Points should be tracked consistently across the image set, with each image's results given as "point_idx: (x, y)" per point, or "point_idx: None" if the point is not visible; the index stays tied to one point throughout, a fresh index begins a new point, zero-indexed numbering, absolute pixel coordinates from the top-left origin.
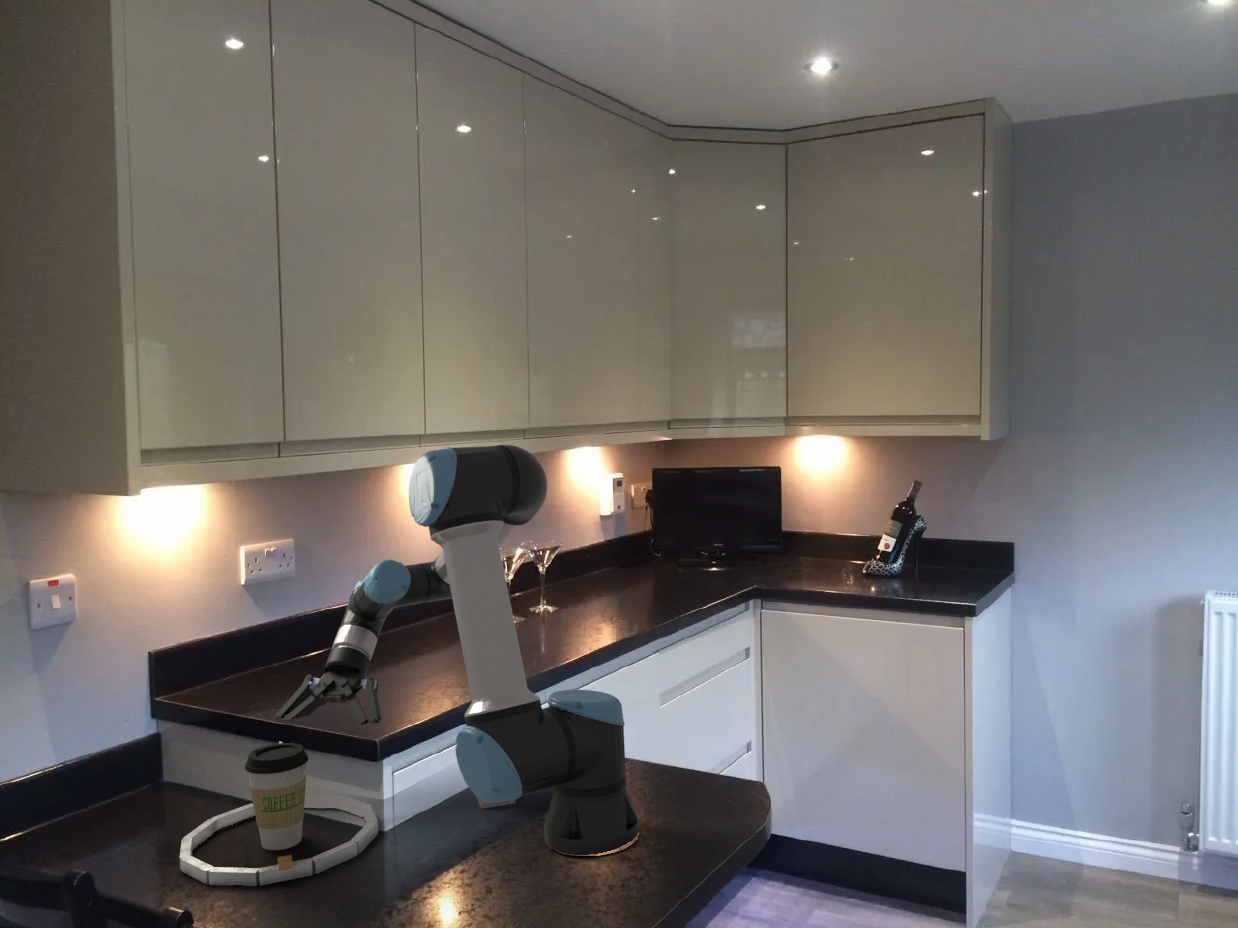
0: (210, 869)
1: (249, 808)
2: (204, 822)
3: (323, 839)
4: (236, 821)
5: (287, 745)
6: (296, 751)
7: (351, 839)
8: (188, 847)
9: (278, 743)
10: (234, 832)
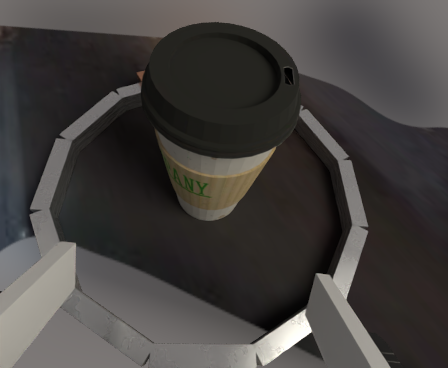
0: None
1: None
2: (363, 213)
3: (139, 199)
4: (332, 260)
5: (219, 109)
6: (163, 62)
7: (70, 146)
8: (318, 134)
9: (349, 306)
10: (309, 227)
